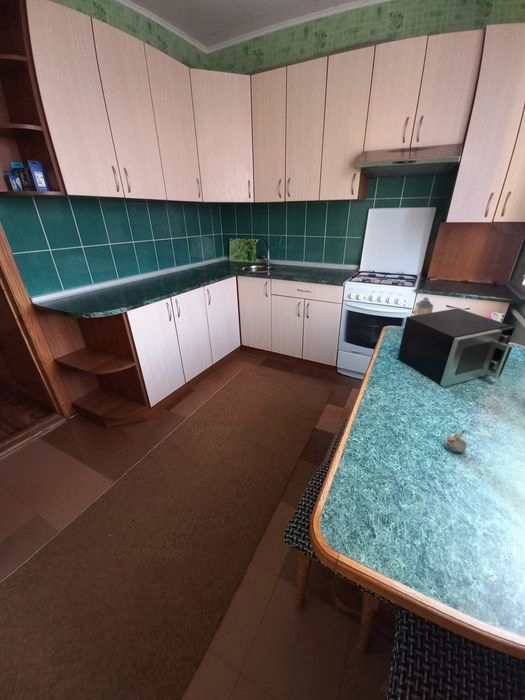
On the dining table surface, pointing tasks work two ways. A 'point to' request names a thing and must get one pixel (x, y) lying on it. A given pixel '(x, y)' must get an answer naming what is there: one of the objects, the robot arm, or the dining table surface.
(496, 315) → the candy bar box
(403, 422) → the dining table surface
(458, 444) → the figurine
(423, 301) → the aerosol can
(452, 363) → the oven door
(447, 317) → the oven
